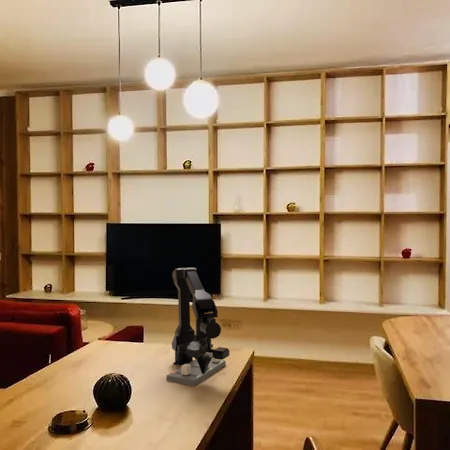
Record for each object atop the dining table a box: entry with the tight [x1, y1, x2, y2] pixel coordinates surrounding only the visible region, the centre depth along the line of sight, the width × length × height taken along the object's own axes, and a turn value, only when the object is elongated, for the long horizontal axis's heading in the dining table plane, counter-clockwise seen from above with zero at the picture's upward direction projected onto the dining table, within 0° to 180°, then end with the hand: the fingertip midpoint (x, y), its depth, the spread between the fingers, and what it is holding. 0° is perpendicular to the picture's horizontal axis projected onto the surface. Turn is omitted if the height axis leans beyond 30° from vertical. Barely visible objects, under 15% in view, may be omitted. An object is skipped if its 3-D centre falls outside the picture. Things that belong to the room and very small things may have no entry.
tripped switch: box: [180, 364, 191, 375], centre depth 183 cm, size 2×3×3 cm
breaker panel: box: [166, 358, 227, 387], centre depth 191 cm, size 12×25×2 cm, turn 153°
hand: (203, 373), depth 180 cm, fingers closed
